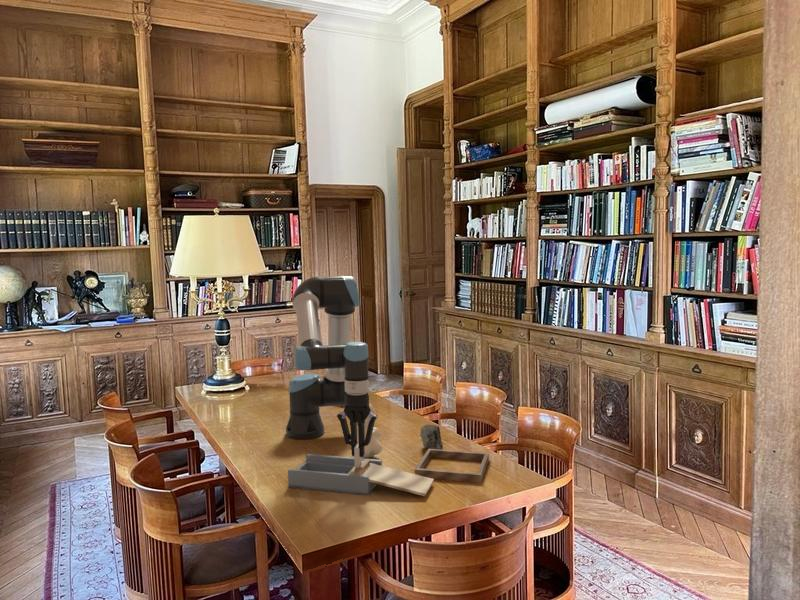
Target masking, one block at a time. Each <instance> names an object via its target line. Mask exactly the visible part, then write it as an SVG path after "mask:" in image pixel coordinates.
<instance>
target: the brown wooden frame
mask: <svg viewBox="0 0 800 600" xmlns="http://www.w3.org/2000/svg"><path fill="white" fill-rule="evenodd" d="M431 458H440V459H453V460H464V461H465V460H466V461H474V462H475V461H477V462H481V464H480V465H479V468H478V471H477V472H467V471H466V472H465V471H454V470H442V469H430V468H425V467H426V466H427V464H428V463H429V461H430V460H431ZM489 461H490V453H487V452H477V451H462V450H461V451H460V450H450V449H443V450H439V449H428V448H427V450H426V451H425V453H424V454H423V456H422V457H421V459H420V461H419V462H418V463H417V465H416V467H415V469H414V474H416V475H420V476H424V477H428V478H432V479H434V480H435V479H436V480H444V481H445V480H446V481H456V482H457V481H458V482H466V483H468V482H470V483H480V484H481V483H482V481H483V478H484V475H485V472H486V469H487V467H488V464H489ZM427 462H428V463H427Z"/></svg>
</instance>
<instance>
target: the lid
mask: <svg viewBox="0 0 800 600" xmlns="http://www.w3.org/2000/svg"><path fill="white" fill-rule="evenodd" d="M364 459H365V460H364V461H362V463H361V464H360V465H359V466H358V468H355V466H354V467H353V468H352V470H351V471H350V472H349V473H348V474H354V475H365V476H369V482H372V483H376V485H380V486H384V487H388V488H392V489H395V490H399V491H402V492H408V493H411V494H415V495H419V496H423V497H426V496H427V494H428V492H429V490H430V489H431V487H432V485H433V484H434V480H435V479H433V478H428V477H424V476H420V475H416V474H415V473H411V472H407V471H404V470H401V469H395V468H392V467H388V466H385V465H382V466H381V465H377V464H373V463H370V460H369V459H370V458H364Z"/></svg>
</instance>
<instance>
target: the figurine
mask: <svg viewBox="0 0 800 600" xmlns="http://www.w3.org/2000/svg"><path fill="white" fill-rule="evenodd" d="M369 408H370V410H371V412H372V413H373V414H374V415H375V414H376V410H375V408H374V406H373V405H372V404H371V402H369ZM369 421H370V420H369V415H368V417H367V418H366V420H365V424H364V426H365V437H366V433H367V428H368V424H369ZM350 435H351V431H350ZM380 435H381V434H380V430H379V428H378V427H375V426H374V427H373V432H372V436H371V441H370V443H369V444H368V445H367V446H364V452H365V454H364V456H363V457H362V458H364V459H370V458H372V457H374V456H376V455H377V456H378V455H380V453H381V452H382V451H383V445H382V444H381V442H380V440H379V438H380ZM357 442H358V443H357V445H359V436H358V422H357Z"/></svg>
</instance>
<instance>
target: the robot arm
mask: <svg viewBox="0 0 800 600" xmlns="http://www.w3.org/2000/svg"><path fill="white" fill-rule="evenodd" d="M291 303H292V308H293V310H294V311H295V313H296V325H297V334H298V335H297V336H298V343H299V346H296V347H294V352H293V353H294V367H295V369H296V371H316V370H326V371H325V372H324V375H323V376H322V377H320V376H319V374H318V373H304V374H300V375H297V376H294V377H292V378H291V379H290V380H289V381H288V382H289V385H288V386H289V387H288V393H289V394H288V395H289V418H288V420H287V424H286V428H285V436H287V437H288V438H290V439H295V440H307V439H309V440H310V439H315V438H319V437H321V436H322V435H324V434H325V426H324V425H325V424H324V422H323V420H322V417H321V413H320V408H323V407H324V408H325V407H338V406H342V407H344V408H343V411H341V412H339V413H338V414H337V415H336V417H337V420H339V422H340V426H341V427H340V428H341V430H342V434H343V438H344V443H345V444H346V445H349V446H350V447H351V449H350V450H351V457H353V458H354V461H355V468H358V466H359V465H360V464H361V463H362V457H363V456H364V454H365V452H364V446H367V445H368V444H369V443H370V441H371V436H372V432H373V427H375V424H376V423H375V422H376V421H377V419H378V414H377V413H375V415H374V414H373V413H372V412H371V410H370V408H369V403H370V394H369V391H370V383H369V381H370V380H369V379H370V378H369V377H370V376H369V356H370V355H369V354H370V353H369V345H368V343H367V342H363V341H351V330H352V329H351V328H352V327H351V326H352V325H351V322H352V321H351V320H352V315H353V314H354V313H355V311H356V308H358V307H359V306H360V296H359V289H358V284H357V281H356V278H355V277H354V276H352V275H349V276H348V275H336V276H335V275H334V276H333V275H332V276H331V275H330V276H312V277H309V278H307V279H305V280H303V281H302V282H301V283H300V284H299V285H298V286H297V288H295V291H294V293H293V295H292V302H291ZM319 308H320V309H324V310H323V311H324V313H325V314H326V315H327V316H328V320H327V321H328V325H327V326H328V327H327V330H328V332H327V333H328V334H327V335H328V336H327V338H328V339H327V341H328V342H327V344H328V345H323V338H322V332H321V325H320V318H319V312H318V309H319ZM368 415H369V420H370V421H369V424H368V428H367V433H366V437H365V426H364V424H365V420H366V418H367V417H368ZM346 417H347V418H348V420H349V424H348V420H347V418H346ZM357 422H358V436H359V445H357V443H358V442H357ZM349 426H350V428H349ZM350 432H351V435H350Z"/></svg>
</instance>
